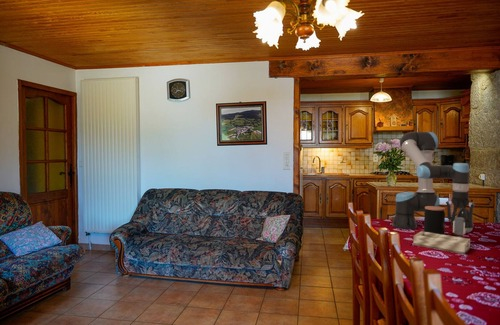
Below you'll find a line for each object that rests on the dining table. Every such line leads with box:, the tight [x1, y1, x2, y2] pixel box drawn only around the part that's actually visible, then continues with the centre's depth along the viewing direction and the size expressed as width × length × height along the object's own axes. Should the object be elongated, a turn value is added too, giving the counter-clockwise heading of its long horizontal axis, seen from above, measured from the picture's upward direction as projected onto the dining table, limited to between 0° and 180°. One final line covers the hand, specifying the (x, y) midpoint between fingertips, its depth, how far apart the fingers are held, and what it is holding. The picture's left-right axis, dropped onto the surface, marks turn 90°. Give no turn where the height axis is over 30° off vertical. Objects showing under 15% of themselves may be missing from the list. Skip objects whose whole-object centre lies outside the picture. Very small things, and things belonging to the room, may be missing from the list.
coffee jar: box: [423, 206, 446, 235], centre depth 197 cm, size 11×11×18 cm
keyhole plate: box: [412, 230, 471, 255], centre depth 178 cm, size 24×14×5 cm, turn 47°
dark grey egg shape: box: [455, 208, 474, 234], centre depth 211 cm, size 10×10×15 cm
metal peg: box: [453, 216, 465, 238], centre depth 183 cm, size 5×5×14 cm
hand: (459, 232), depth 183 cm, fingers closed on metal peg, 4 cm apart
